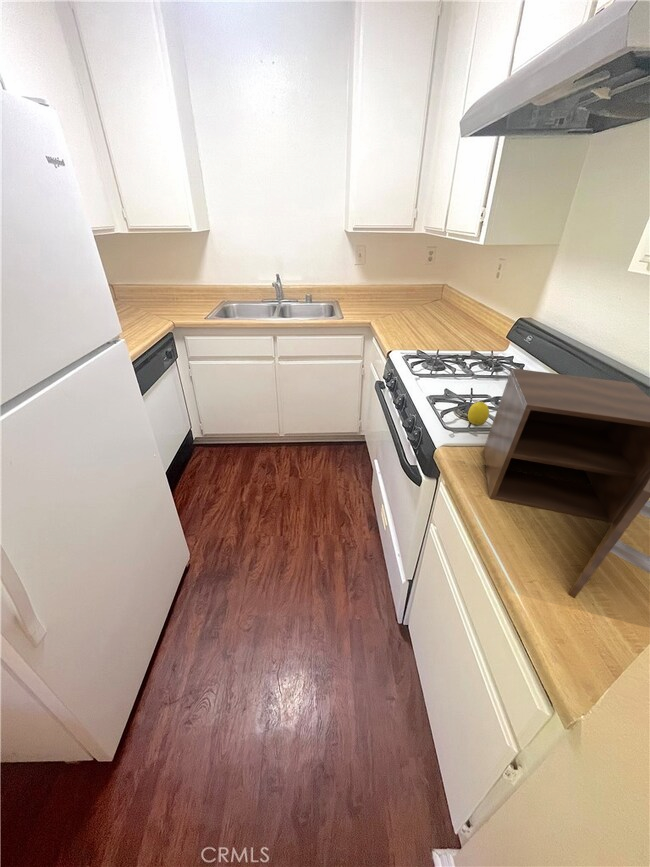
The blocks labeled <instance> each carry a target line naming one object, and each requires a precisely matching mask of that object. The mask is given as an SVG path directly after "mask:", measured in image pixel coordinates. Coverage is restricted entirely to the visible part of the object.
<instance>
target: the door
mask: <svg viewBox="0 0 650 867" xmlns="http://www.w3.org/2000/svg"><path fill="white" fill-rule="evenodd" d="M638 515H642V516H644V517H645V518H648V519H650V470H649V472H648V473H647V475H646V476H645V478H644V479H643V480H642V482H641V483H640V485H639V486H638V488H637V489H636V490H635V492H634V493H633V495H632V496H631V497H630V499H629V500H628V502H627V503H626V505H625V506H624V507H623V509H622V510H621V512H620V513H619V515H618V516H617V517H616V519H615V520H614V522H613V523H610V524H611V525H610V526H609V528H608V529H607V531H606V532H605V534H604V535H603V537H602V538H601V541H600V542H599V544H598V545H597V547H596V549H595V550H594V552H593V553H592V555H591V557H589V559H588V562H587V563H586V565H585V566H584V568H583V569H582V571H581V573H580V575H579V576H578V577H577V579H576V581H575V582H574V584H573V586H572V587H571V589H570V591H569V592H568V595H569V596H570V597H572V598H573V599H576V597H577V596H578V595H579V594H580V593H581V591H582V590H583V588H584V587H585V586H586V584H587V583H588V582H589V580H590V579H591V577H592V576H593V575H594V574H595V572H596V571H597V570H598V569H599V567H600V566H601V565H602V563H603V561H604V560H605V559H606V558H607V556H608V554H610V553H611V554H613V555H615V556H617V557H618V558H620V559H622V560H624V561H625V562H628V563H629V564H631V565H632V566H635V567H636V568H638V569H640V570H642V571H643V572H645V573H647V574H649V575H650V555H647V554H646V553H644V552H642V551H640V550H638V549H636V548H634V547H632V546H630V545H629V544H627V543H625V542H623V541H621V540H620V539H621V537H622V536H623V535H624V533H625V532H626V531H627V529H628V528H629V527H630V525H631V524H632V523H633V522H634V520H635V519H636V518H637V516H638Z"/></svg>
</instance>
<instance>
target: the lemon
mask: <svg viewBox="0 0 650 867" xmlns="http://www.w3.org/2000/svg"><path fill="white" fill-rule="evenodd" d="M489 415H490V409H489V405H487V404H486V403H485V402H483V401H476V402H475V403H472V405H470V407H469V409H468V412H467V419H468V421H469V423H470V424H471V425H475V426H481V425H483V424H486V422H487V421H488V418H489Z"/></svg>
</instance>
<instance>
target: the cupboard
mask: <svg viewBox="0 0 650 867" xmlns="http://www.w3.org/2000/svg"><path fill="white" fill-rule="evenodd" d="M510 369H511V370H510V372H509V375H508V377H507V380H506V384H505V387H504V389H503V392H502V396H501V398H500V401H499V404H498V407H497V410H496V412H495V416H494V417H493V422H492V424H491V426H490V429H489V433H488V436H487V438H486V442H485V445H484V448H483V453H484V458H485V464H484V465H483V466H484V471H485V477H486V484H487V491H488V496H489V499H490V500H493V501H499V502H504V503H508V504H509V503H510V504H513V505H514V504H515V505H519V506H524V507H529V508H533V509H538V510H543V511H549V512H553V513H558V514H563V515H568V516H572V517H573V516H574V517H577V518H578V517H579V518H583V519H589V520H593V521H599V522H602V523H603V522H604V523H609V524H612V523H613V522H614V520H615V519H616V517H617V516H618V515H619V513H620V512H621V510H622V509H623V507H624V506H625V505H626V503H627V502H628V500H629V499H630V497H631V496H632V495H633V493H634V492H635V490H636V489H637V488H638V486H639V485H640V483H641V482H642V480H643V479H644V478H645V476H646V475H647V473H648V472H649V470H650V396H648V395H647V394H646V393H645V392H644V391H643V390H642V389H641V388H640V387H639V386H637V385H636V384H635V383H634V382H628V381H620V380H612V379H602V378H594V377H587V376H580V375H579V376H578V375H571V374H563V373H553V372H546V371H545V372H544V371H538V370H529V369H521V368H510ZM512 459H515V460H516V459H517V460H521V461H528V462H532V463H533V462H534V463H539V464H545V465H551V466H557V467H562V468H568V469H572V470H573V469H574V470H579V471H584V473H585V474H586V476H587V478H588V480H589V482H590V483H588V482H582V481H576V480H571V479H566V478H565V479H564V478H559V477H554V476H549V475H543V474H538V473H532V472H525V471H521V470H516V469H515V470H514V469H510V468H508V467H509V464H510V462H511V460H512Z"/></svg>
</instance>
